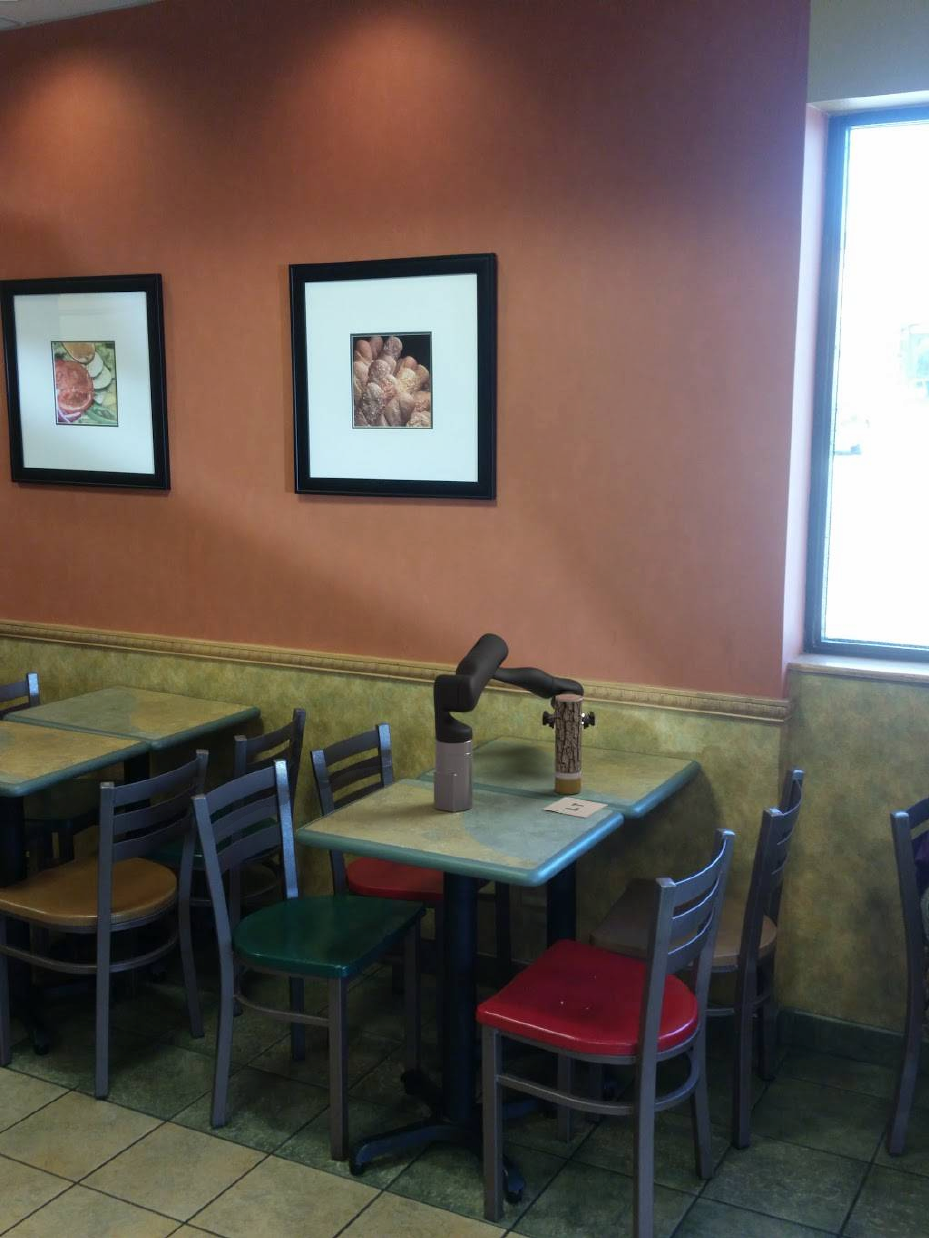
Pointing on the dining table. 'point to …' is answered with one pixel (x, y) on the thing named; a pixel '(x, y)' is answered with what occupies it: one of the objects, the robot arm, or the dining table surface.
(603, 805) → the card
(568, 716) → the brown bark cylinder
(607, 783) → the dining table surface
